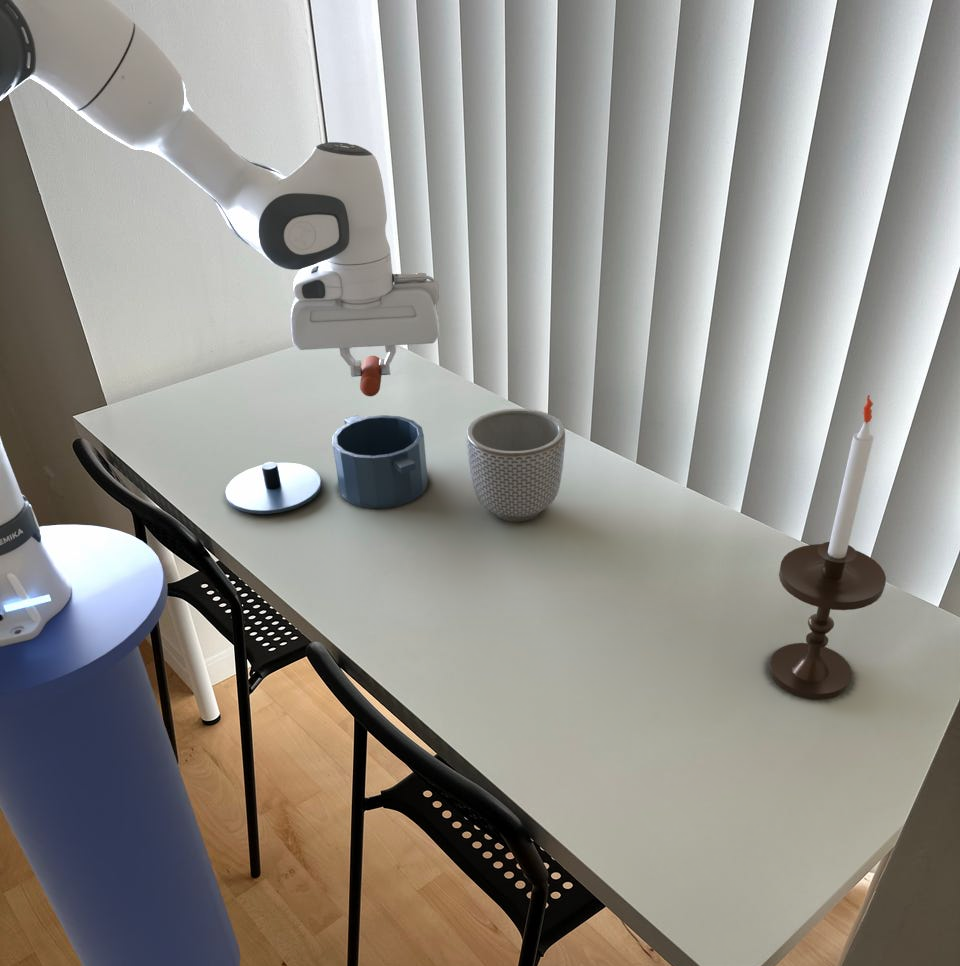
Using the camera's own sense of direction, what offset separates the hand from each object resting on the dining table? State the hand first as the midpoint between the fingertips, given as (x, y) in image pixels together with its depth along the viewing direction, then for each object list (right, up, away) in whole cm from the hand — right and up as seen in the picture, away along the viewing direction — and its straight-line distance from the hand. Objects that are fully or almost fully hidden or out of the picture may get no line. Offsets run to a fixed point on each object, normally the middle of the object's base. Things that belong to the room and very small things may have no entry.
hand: (371, 374), depth 139 cm
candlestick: (+54, -42, -25) cm, 73 cm away
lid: (-16, -14, +12) cm, 25 cm away
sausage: (+1, -1, +1) cm, 2 cm away
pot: (0, -14, +13) cm, 19 cm away
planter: (+21, -19, +6) cm, 29 cm away
